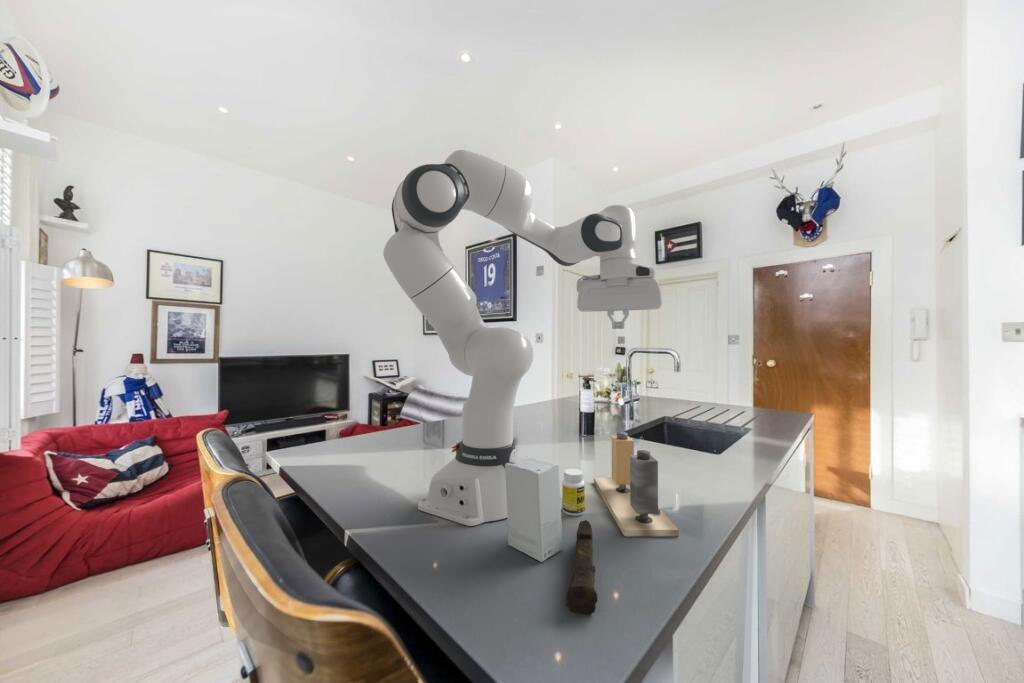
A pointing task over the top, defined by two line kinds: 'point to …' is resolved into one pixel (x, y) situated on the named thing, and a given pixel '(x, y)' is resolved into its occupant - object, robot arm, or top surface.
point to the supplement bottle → (573, 492)
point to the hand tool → (583, 573)
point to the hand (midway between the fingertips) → (618, 328)
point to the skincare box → (533, 507)
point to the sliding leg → (621, 459)
